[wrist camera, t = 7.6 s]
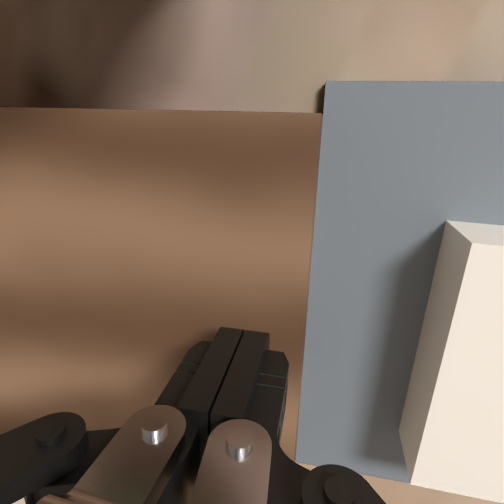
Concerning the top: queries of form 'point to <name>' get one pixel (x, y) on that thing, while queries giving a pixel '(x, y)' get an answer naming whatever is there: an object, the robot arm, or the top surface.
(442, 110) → the mat
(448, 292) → the tile
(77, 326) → the brown wooden board
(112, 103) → the top surface
